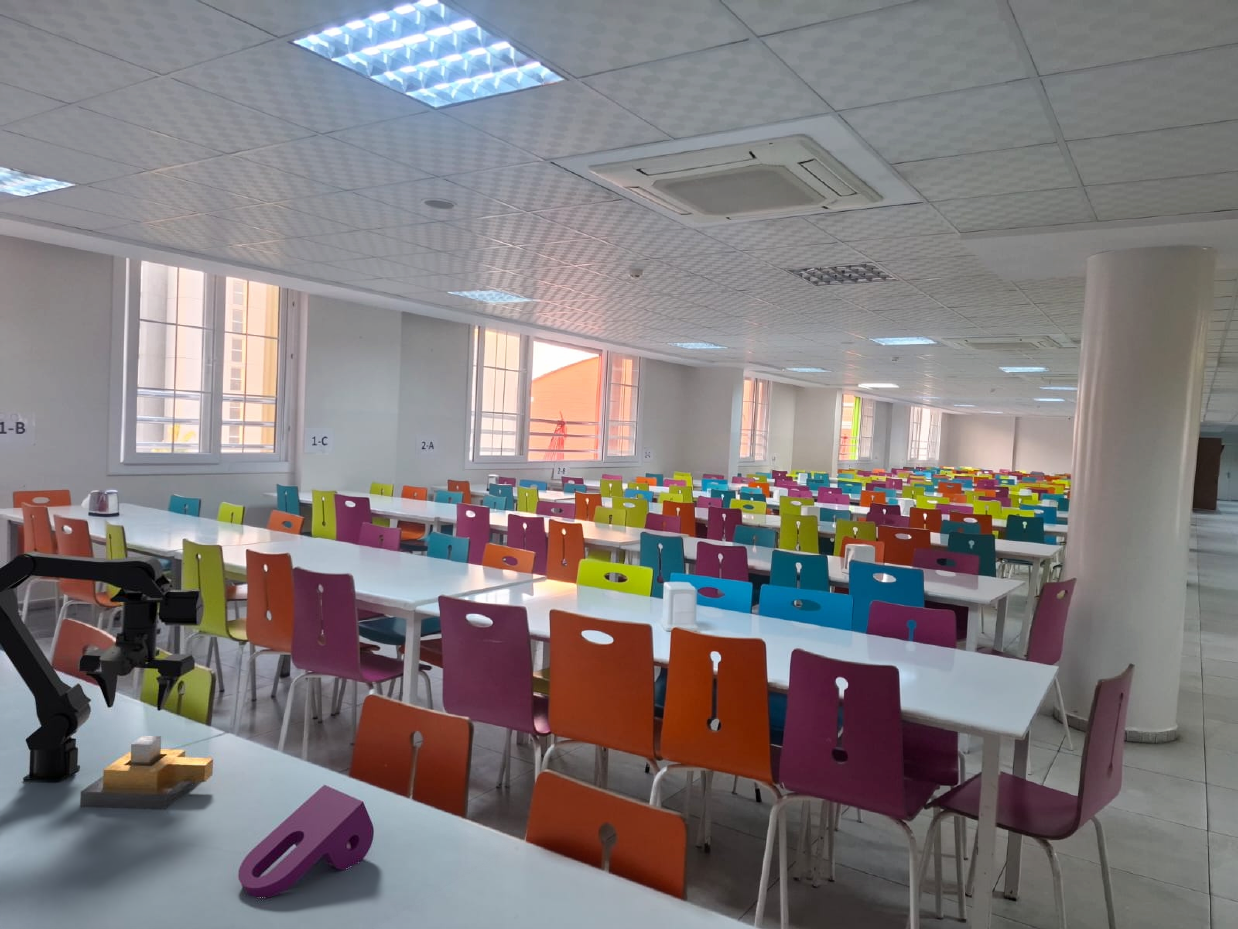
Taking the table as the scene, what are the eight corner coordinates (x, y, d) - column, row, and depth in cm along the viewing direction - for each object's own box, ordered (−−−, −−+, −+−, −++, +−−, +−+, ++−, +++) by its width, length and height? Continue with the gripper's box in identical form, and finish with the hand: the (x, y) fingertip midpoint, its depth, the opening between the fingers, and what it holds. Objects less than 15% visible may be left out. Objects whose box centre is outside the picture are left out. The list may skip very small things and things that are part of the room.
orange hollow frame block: (80, 806, 139) (81, 774, 139) (125, 773, 153) (126, 743, 153) (189, 810, 140) (190, 777, 140) (224, 776, 154) (226, 747, 154)
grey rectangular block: (129, 795, 144) (131, 744, 144) (140, 785, 148) (142, 736, 148) (148, 795, 144) (150, 744, 144) (159, 786, 148) (161, 736, 148)
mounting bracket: (285, 939, 116) (380, 841, 129) (263, 897, 112) (363, 801, 126) (246, 915, 121) (341, 823, 134) (225, 874, 118) (324, 784, 131)
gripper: (60, 632, 145) (55, 719, 145) (166, 638, 145) (161, 726, 145) (99, 618, 156) (95, 700, 156) (198, 625, 156) (193, 706, 157)
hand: (135, 708), depth 153 cm, fingers open, 9 cm apart
